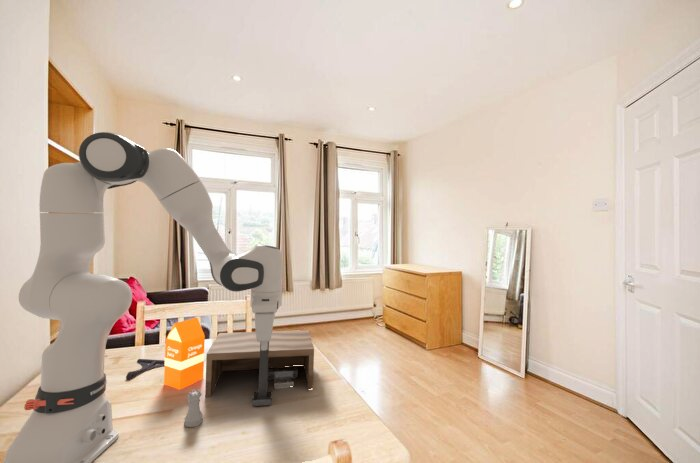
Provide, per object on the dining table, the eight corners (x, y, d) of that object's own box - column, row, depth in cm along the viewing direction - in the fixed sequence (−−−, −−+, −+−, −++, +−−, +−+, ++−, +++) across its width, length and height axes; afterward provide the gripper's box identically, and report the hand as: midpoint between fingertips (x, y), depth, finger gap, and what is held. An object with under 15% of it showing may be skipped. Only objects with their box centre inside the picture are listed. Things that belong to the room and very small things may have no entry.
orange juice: (163, 384, 103) (165, 321, 104) (187, 373, 111) (189, 315, 112) (180, 389, 100) (182, 325, 100) (203, 378, 108) (205, 318, 108)
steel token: (293, 388, 104) (293, 381, 104) (274, 389, 103) (274, 383, 103) (292, 379, 110) (292, 373, 110) (274, 381, 108) (274, 375, 108)
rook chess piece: (184, 419, 84) (186, 389, 85) (203, 416, 86) (204, 386, 86) (182, 429, 80) (183, 397, 80) (202, 426, 82) (203, 394, 82)
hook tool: (300, 402, 94) (303, 334, 94) (252, 406, 91) (255, 336, 91) (296, 375, 112) (299, 318, 112) (256, 377, 109) (259, 319, 109)
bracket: (107, 380, 106) (107, 372, 106) (140, 362, 121) (140, 355, 121) (148, 383, 105) (148, 375, 105) (176, 365, 120) (176, 357, 120)
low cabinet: (312, 389, 103) (314, 348, 103) (205, 397, 96) (206, 353, 96) (307, 364, 122) (308, 330, 122) (218, 369, 115) (219, 333, 116)
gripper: (257, 293, 104) (256, 336, 104) (252, 307, 84) (250, 361, 84) (277, 293, 105) (276, 335, 105) (276, 307, 85) (275, 360, 85)
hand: (264, 347), depth 94 cm, fingers closed on hook tool, 2 cm apart
